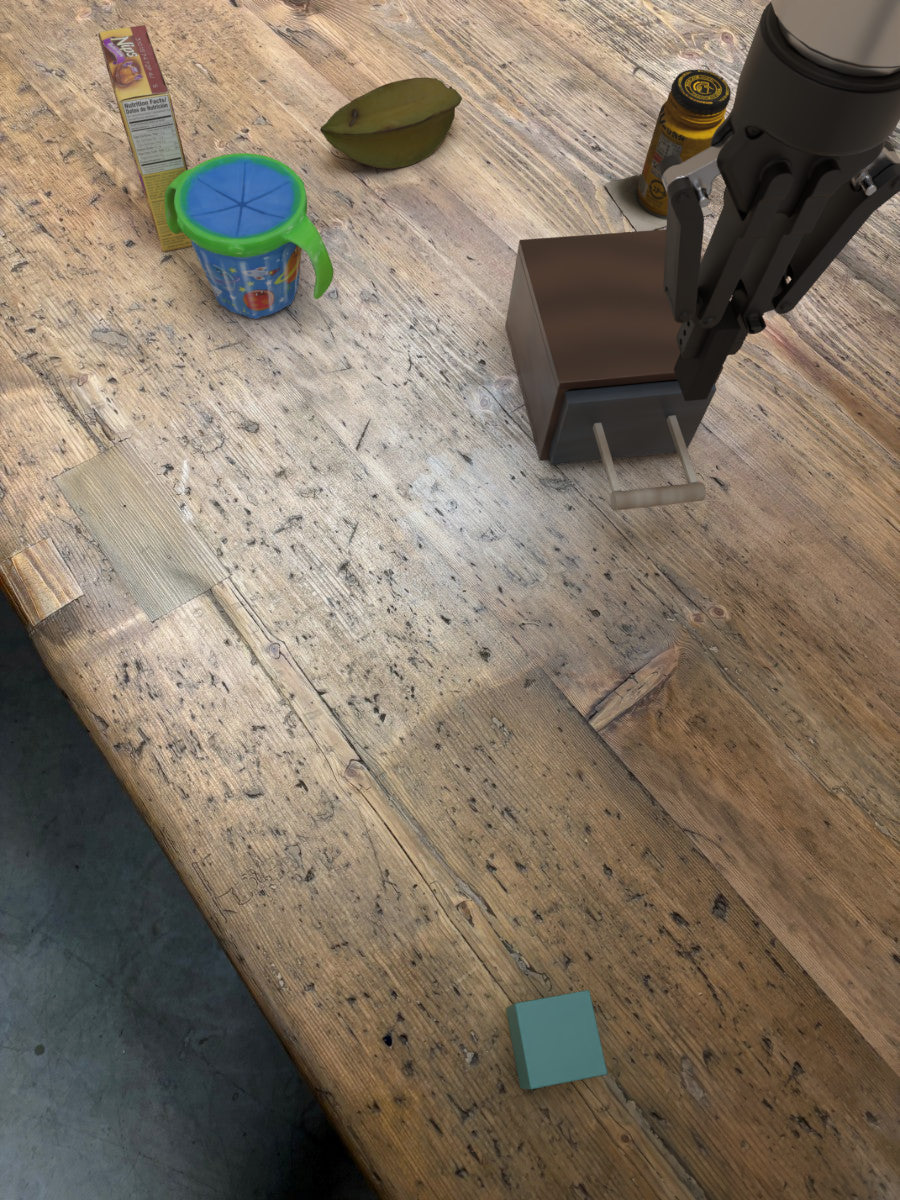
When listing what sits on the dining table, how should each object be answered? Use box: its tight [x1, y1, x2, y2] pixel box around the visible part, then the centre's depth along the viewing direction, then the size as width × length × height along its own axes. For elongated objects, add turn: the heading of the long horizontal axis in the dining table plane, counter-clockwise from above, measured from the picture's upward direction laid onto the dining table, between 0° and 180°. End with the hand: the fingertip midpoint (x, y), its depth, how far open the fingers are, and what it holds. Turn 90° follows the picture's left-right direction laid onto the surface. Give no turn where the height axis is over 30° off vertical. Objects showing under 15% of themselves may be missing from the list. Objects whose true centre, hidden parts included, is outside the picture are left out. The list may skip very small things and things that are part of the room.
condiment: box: [603, 68, 732, 232], centre depth 87 cm, size 7×8×12 cm
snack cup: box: [165, 152, 335, 320], centre depth 79 cm, size 16×10×10 cm
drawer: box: [549, 380, 717, 512], centre depth 74 cm, size 21×12×8 cm, turn 10°
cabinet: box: [505, 229, 724, 462], centre depth 77 cm, size 15×13×10 cm
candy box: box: [97, 24, 193, 252], centre depth 80 cm, size 9×4×15 cm, turn 20°
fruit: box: [319, 77, 463, 170], centre depth 90 cm, size 11×12×7 cm
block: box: [505, 989, 608, 1090], centre depth 55 cm, size 4×4×4 cm
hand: (690, 383), depth 61 cm, fingers closed
